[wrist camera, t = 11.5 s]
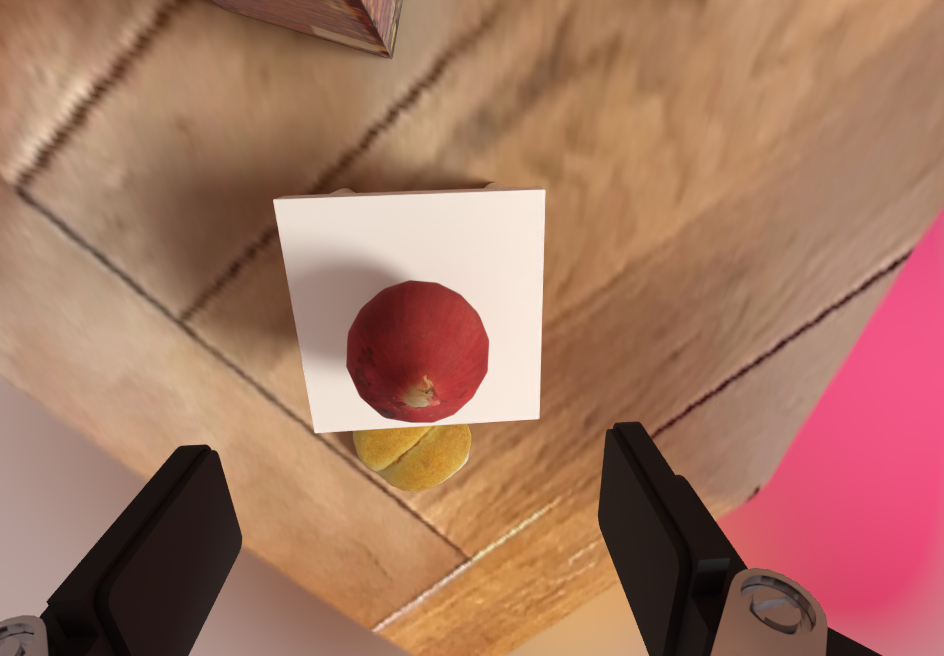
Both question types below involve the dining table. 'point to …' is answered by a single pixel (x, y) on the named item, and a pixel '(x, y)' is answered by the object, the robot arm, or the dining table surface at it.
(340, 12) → the book
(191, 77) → the dining table surface
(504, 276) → the stool
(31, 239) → the dining table surface
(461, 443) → the bread roll
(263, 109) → the dining table surface
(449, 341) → the onion
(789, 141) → the dining table surface
